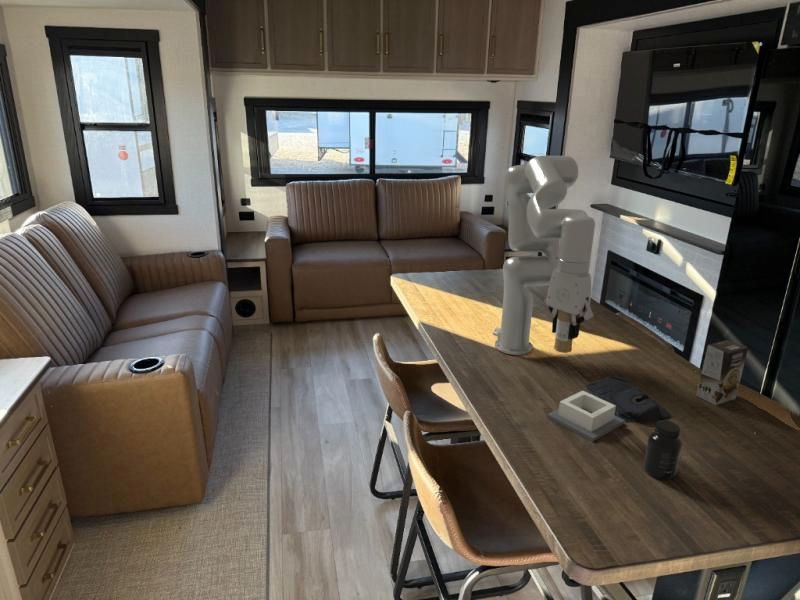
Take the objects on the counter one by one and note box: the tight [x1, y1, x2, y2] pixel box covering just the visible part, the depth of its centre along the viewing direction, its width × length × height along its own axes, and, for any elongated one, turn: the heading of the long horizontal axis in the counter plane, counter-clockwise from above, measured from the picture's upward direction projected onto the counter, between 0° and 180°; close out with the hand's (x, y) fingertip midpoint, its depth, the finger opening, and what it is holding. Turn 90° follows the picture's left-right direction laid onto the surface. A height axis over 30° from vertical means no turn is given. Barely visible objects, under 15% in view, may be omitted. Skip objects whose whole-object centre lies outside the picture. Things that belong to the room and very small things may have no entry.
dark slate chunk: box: [585, 375, 671, 424], centre depth 159 cm, size 15×22×5 cm
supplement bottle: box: [643, 419, 683, 481], centre depth 127 cm, size 7×7×12 cm
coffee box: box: [696, 339, 749, 406], centre depth 160 cm, size 9×6×16 cm
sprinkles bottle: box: [553, 310, 573, 354], centre depth 145 cm, size 5×5×14 cm
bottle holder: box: [546, 390, 626, 443], centre depth 148 cm, size 14×14×5 cm
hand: (564, 334), depth 146 cm, fingers closed on sprinkles bottle, 4 cm apart
